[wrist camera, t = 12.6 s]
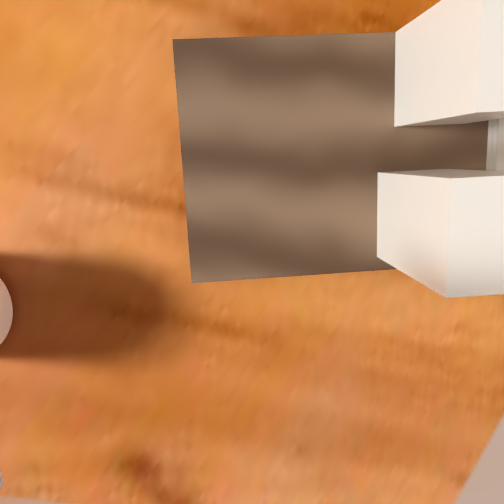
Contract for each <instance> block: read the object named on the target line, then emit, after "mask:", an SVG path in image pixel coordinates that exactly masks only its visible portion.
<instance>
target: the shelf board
mask: <svg viewBox="0 0 504 504" xmlns="http://www.w3.org/2000/svg"><path fill="white" fill-rule="evenodd" d="M395 36H396V32H389V33H358V34H327V35H296V36H265V37H234V38H204V39H173V51H174V64H175V77H176V89H177V102H178V115H179V127H180V140H181V152H182V165H183V178H184V190H185V203H186V215H187V228H188V241H189V253H190V266H191V279H192V283H201V282H216V281H230V280H245V279H259V278H273V277H288V276H302V275H316V274H331V273H345V272H360V271H374V270H388V269H396V268H395V267H393V266H391V265H390V264H388V263H386V262H385V261H383V260H381V259H380V258H378V257H377V189H378V172H395V171H414V170H434V169H464V170H487V171H504V118H501V119H494V120H487V121H480V122H473V123H466V124H446V125H425V126H404V127H394V111H395Z"/></svg>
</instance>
